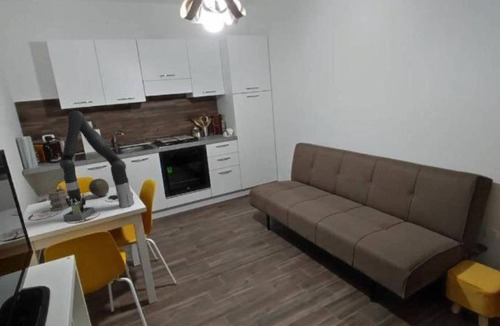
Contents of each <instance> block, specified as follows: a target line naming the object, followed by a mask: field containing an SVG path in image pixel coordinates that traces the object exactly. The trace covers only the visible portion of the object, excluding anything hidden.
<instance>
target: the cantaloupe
mask: <svg viewBox="0 0 500 326" xmlns="http://www.w3.org/2000/svg"><path fill="white" fill-rule="evenodd" d="M88 190H89V192H90V194H92V195H93V196H96V197H104V196H106V195H107V194H108V193H109V192H110V187H109V183H108V182H107V180H105V179H103V178H95V179H92V180H91V181H90V182H89V184H88Z"/></svg>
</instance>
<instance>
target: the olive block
mask: <svg viewBox="0 0 500 326" xmlns="http://www.w3.org/2000/svg"><path fill="white" fill-rule="evenodd" d="M83 207H84V208H85V205H84V206H83ZM70 208H71V211H73V214H81V213H82V212H81V210H80V206H79V205H78V204H77V203H75V204H74V205H72V206H71V207H70ZM84 211H85V210H84ZM84 211H83V212H84Z"/></svg>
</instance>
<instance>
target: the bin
mask: <svg viewBox="0 0 500 326" xmlns="http://www.w3.org/2000/svg"><path fill="white" fill-rule="evenodd" d="M84 210H85V211H84V212H82V213H81V214H73V211H72V210H70V211H68V212H67V213H65V214H64V215H62V216H63V221H64V222H72V221H73V222H75V221H77V222H78V221H79V222H80V221H83V220H85V219H87V218H89V217H90V216H92V215H93V214H95V209H94V206H90V207H89V206H88V207H85V206H84Z"/></svg>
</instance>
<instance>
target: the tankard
mask: <svg viewBox="0 0 500 326" xmlns="http://www.w3.org/2000/svg"><path fill="white" fill-rule="evenodd" d="M47 197H48V200H50V202H49V205H50V206H51V208H50V211H51V212H60V211H64V210H66V209H68V208H70V207H69V206H68V204H67V202H66V200H65V199H66V198H69V196H68V194H67V190H66V188H63V186H62V185H58V188H55V189H52V190H50V191H49V192H48V196H47ZM69 204H70V203H69Z"/></svg>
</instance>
